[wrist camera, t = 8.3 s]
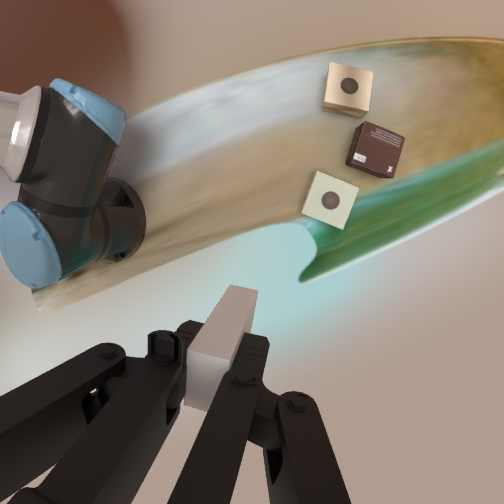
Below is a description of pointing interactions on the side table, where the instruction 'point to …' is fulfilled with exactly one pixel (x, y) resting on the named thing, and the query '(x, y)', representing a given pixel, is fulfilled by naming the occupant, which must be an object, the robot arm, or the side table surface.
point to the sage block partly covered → (329, 200)
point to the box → (375, 150)
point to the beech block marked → (347, 90)
